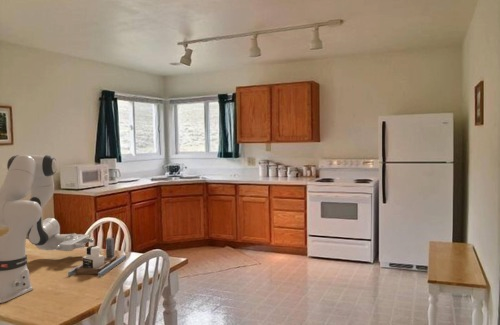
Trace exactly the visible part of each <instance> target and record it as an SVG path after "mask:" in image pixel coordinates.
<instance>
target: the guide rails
mask: <svg viewBox="0 0 500 325" xmlns="http://www.w3.org/2000/svg"><path fill="white" fill-rule="evenodd" d="M99 255H101V253H100V254H99ZM124 259H125V260H126V259H127V255H126V254H123V255H122V256H120V257H119V258H116V259H115V260H113V261H112V262H111V264H110V265H109V266H107V267H106V268H104V269H103V270H101V271H100V272H98V274H97V278H101V277H102V276H103V277H104V275H106V274H107V273H109V271H111V270H112V269H114V268H115V267H116V265H117V266H118V265H119V264H121V263H122V262H124V261H125V260H124ZM123 260H124V261H123ZM120 262H121V263H120ZM82 264H83V262H82V263H81V264H79V265H77V266H75V267H74V268H72V269H71V270H69V271H67V274H68V275H67V277H72V276H73V275H75V274H76V273H75V268H77V267H78V266H80V265H82Z"/></svg>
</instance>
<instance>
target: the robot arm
mask: <svg viewBox="0 0 500 325" xmlns="http://www.w3.org/2000/svg"><path fill="white" fill-rule="evenodd" d="M6 167H7V168H6V169H7V173H6V175H5V178H4V181H3V183H2V185H1V187H0V227H8V231H7V232H5V233H4V234H3V235H1V236H0V304H1V303H2V304H3V303H5V302H8V301H11V300H12V299H15V298H17V297H20V296H21V295H23V294H27V293H29V292H31V291H33V290H34V286H33V285H32V281H31V277H30V276H31V275H30V270H29V269H28V266H27V264H28V256H27V254H26V241H27V239H28V242H29V243H31V244H32V245H34V246H35V248H37V249H39V250H43V251H55V250H56V251H61V252H72V251H74V250H76V249H79V248H85V247H86V244H87V243H95V239H94V238H91V236H90V235H89V234H85V233H84V234H82V233H79V234H77V233H75V232H72V233H65V234H64V233H62V234H61V225H60V222H59V221H58V219H56V218H53V217H46V218H45V219H43V218H44V217H43V212H44V208H45V206H46V205H47V203H48V202H49V201H50V200H51V198H53V196H54V194H55V183H54V176H53V175H55V174H56V172H57V169H58V162H57V159H56V158H55V157H54V156H52V155H48V154H46V155H40V154H21V155H19V154H17V155H14V156H11V157H9V159H8V160H7V164H6ZM29 194H30V197H29V200H28V199H24V198H26V197H27V196H28V195H29Z"/></svg>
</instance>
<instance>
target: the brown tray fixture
mask: <svg viewBox="0 0 500 325" xmlns="http://www.w3.org/2000/svg"><path fill="white" fill-rule="evenodd" d="M105 249H106V252H105V253H106V255H105V256H104V265H102V266H101V267H99V268H83V264H82V263H81V264H82V265H81V264H79V265H80V266H79V265H77V266H78V267H77V266H76V267H77V268H76V267H74V268H75V274H84V275H85V274H86V275H87V274H88V275H91V274H92V275H98V272H100V271H101V270H103V269H104V268H106V267H107V266H109V265H110V264H112V263H113V262H114V261H116V260H117V259H118V255H115V238H114V237H108V238H105Z"/></svg>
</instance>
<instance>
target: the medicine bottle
mask: <svg viewBox="0 0 500 325" xmlns="http://www.w3.org/2000/svg"><path fill="white" fill-rule="evenodd" d="M100 248H101V247H100V246H98V245H90V246H88V247H87V248H86V255H85V256H83V257H82V263H83V268H99V267H101V266H102V265H104V257H105V256H104V255H103V254H101V253H100V252H101V250H100ZM99 254H100V255H99Z"/></svg>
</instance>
